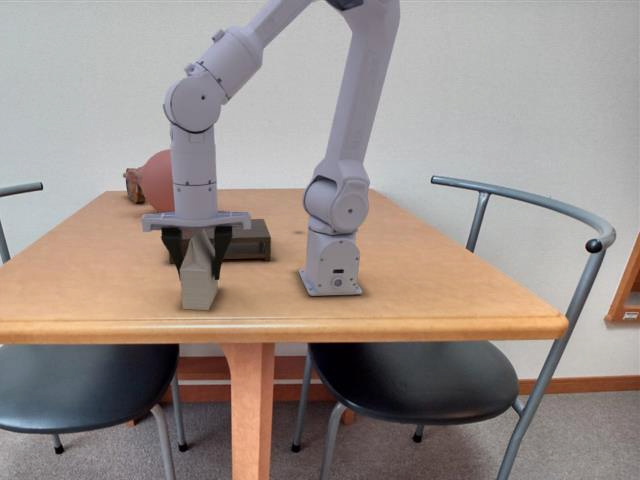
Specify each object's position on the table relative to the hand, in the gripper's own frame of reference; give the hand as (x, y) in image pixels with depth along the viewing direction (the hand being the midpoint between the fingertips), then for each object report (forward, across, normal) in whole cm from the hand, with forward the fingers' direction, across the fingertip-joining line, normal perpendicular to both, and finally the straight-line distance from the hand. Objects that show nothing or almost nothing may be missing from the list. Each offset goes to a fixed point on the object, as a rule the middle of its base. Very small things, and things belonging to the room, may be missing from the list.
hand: (200, 277), depth 62 cm
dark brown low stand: (+3, -3, -21) cm, 21 cm away
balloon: (+4, +10, -50) cm, 51 cm away
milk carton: (+4, 0, 0) cm, 4 cm away
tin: (+4, +20, -67) cm, 70 cm away
